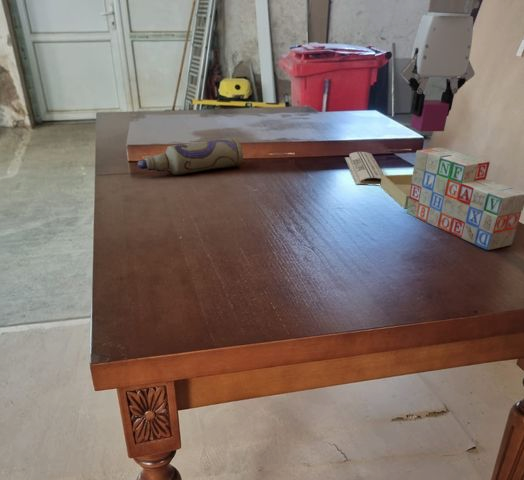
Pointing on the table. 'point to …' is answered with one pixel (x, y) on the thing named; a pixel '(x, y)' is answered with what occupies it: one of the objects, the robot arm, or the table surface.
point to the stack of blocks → (463, 198)
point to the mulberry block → (431, 116)
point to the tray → (398, 187)
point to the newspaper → (364, 168)
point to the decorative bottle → (196, 157)
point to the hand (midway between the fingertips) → (430, 113)
